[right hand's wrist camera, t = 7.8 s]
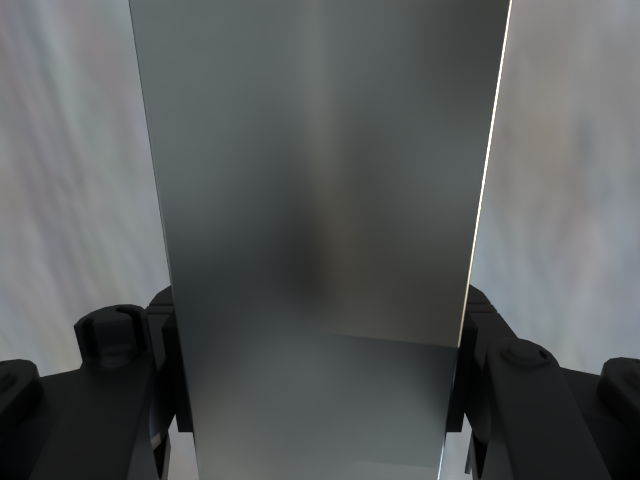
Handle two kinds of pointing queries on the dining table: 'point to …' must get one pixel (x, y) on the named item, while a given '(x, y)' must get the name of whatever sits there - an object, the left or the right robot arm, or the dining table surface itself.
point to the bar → (320, 221)
